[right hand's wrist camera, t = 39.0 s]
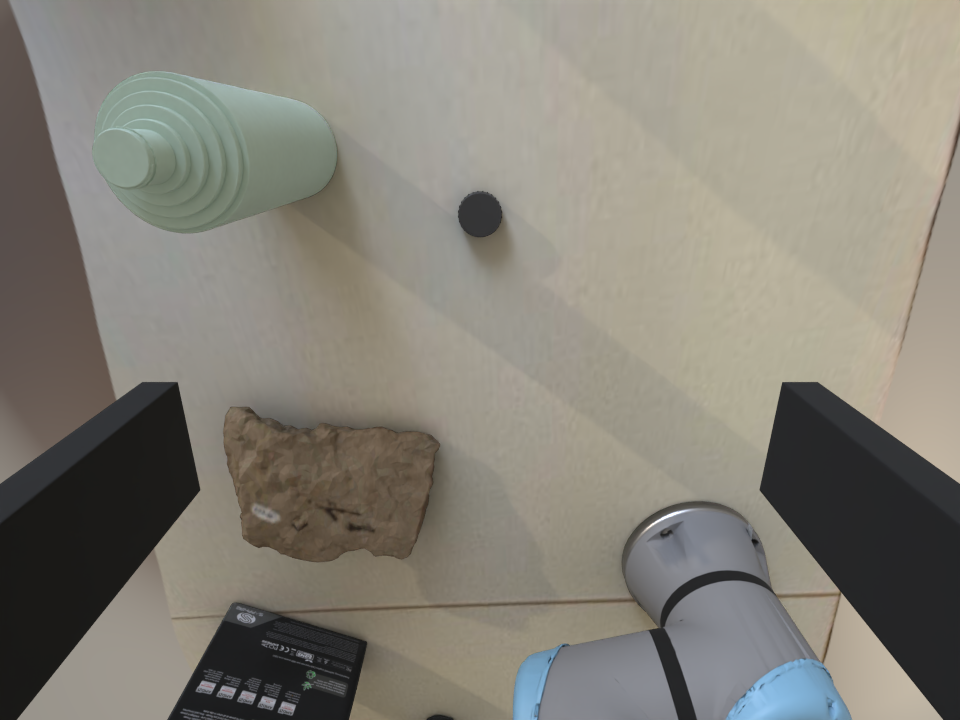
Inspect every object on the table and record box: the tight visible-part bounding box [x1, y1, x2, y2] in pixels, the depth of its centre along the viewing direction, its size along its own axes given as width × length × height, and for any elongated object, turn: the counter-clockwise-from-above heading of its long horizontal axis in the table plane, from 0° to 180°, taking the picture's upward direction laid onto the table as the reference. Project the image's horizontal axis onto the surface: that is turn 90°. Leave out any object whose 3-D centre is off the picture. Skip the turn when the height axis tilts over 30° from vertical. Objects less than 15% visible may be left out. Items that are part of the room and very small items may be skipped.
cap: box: [458, 191, 502, 237], centre depth 50 cm, size 4×4×2 cm
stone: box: [223, 407, 440, 562], centre depth 57 cm, size 21×15×6 cm
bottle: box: [92, 71, 337, 233], centre depth 37 cm, size 8×8×24 cm
